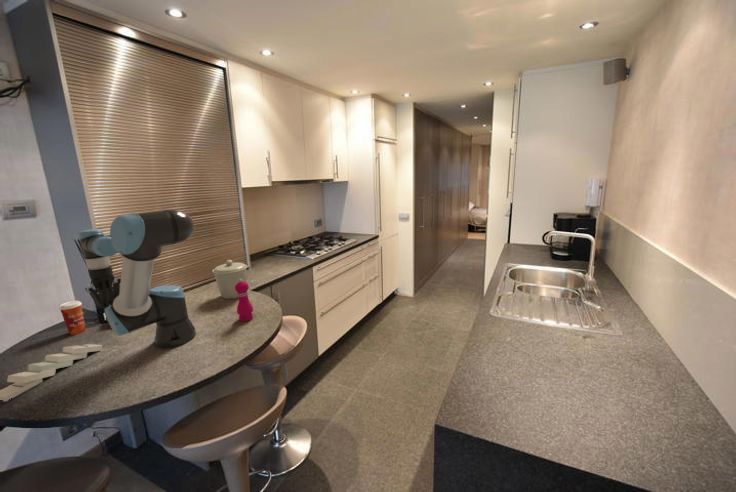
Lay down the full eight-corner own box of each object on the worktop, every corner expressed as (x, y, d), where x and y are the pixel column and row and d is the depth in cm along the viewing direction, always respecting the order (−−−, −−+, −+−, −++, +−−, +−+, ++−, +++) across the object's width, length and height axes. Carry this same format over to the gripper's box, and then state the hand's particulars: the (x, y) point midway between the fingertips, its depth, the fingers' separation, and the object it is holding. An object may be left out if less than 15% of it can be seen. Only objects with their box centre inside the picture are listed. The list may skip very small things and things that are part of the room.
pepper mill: (234, 320, 152) (228, 280, 147) (245, 314, 158) (240, 275, 154) (246, 322, 149) (241, 282, 145) (257, 316, 156) (252, 277, 151)
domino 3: (73, 359, 121) (42, 365, 111) (72, 365, 121) (41, 371, 111) (59, 358, 122) (28, 364, 112) (58, 364, 122) (27, 370, 112)
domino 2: (41, 377, 111) (4, 396, 102) (43, 382, 112) (6, 402, 102) (28, 375, 113) (-10, 394, 103) (30, 380, 113) (-7, 400, 104)
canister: (243, 301, 175) (238, 264, 170) (210, 302, 175) (204, 265, 170) (255, 289, 192) (251, 255, 187) (225, 290, 193) (220, 256, 188)
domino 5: (102, 345, 131) (74, 348, 121) (101, 350, 131) (73, 354, 121) (91, 343, 133) (63, 346, 123) (90, 348, 132) (62, 352, 123)
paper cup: (75, 336, 143) (67, 307, 140) (61, 335, 145) (53, 306, 142) (93, 328, 151) (85, 300, 147) (80, 327, 152) (72, 299, 149)
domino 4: (87, 351, 126) (58, 356, 116) (86, 357, 126) (57, 362, 116) (75, 350, 127) (45, 354, 118) (74, 356, 127) (44, 360, 117)
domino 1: (55, 368, 115) (26, 376, 105) (54, 374, 115) (24, 382, 105) (39, 367, 116) (8, 375, 106) (38, 373, 115) (6, 381, 105)
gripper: (109, 262, 139) (121, 313, 144) (75, 271, 127) (90, 326, 132) (122, 262, 137) (134, 314, 142) (88, 272, 125) (103, 328, 130)
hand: (112, 320), depth 137 cm, fingers closed
